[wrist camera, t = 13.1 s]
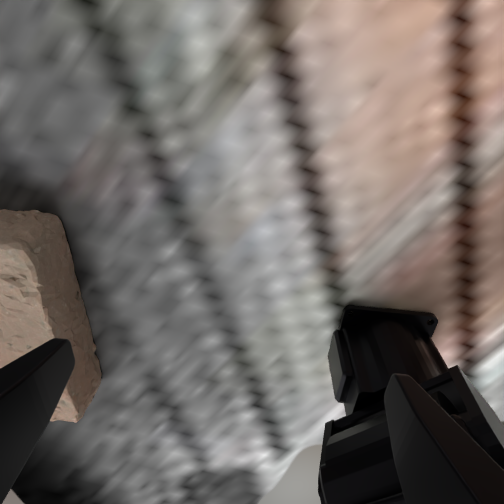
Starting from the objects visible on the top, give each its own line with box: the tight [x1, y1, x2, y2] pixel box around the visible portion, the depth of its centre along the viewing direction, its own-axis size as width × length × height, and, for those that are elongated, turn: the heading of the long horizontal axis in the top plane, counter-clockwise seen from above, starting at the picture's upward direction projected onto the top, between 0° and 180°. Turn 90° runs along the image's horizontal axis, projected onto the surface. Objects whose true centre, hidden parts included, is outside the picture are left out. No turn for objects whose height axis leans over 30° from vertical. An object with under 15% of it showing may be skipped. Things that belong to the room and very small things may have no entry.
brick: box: [0, 209, 102, 423], centre depth 24 cm, size 17×8×5 cm, turn 178°
